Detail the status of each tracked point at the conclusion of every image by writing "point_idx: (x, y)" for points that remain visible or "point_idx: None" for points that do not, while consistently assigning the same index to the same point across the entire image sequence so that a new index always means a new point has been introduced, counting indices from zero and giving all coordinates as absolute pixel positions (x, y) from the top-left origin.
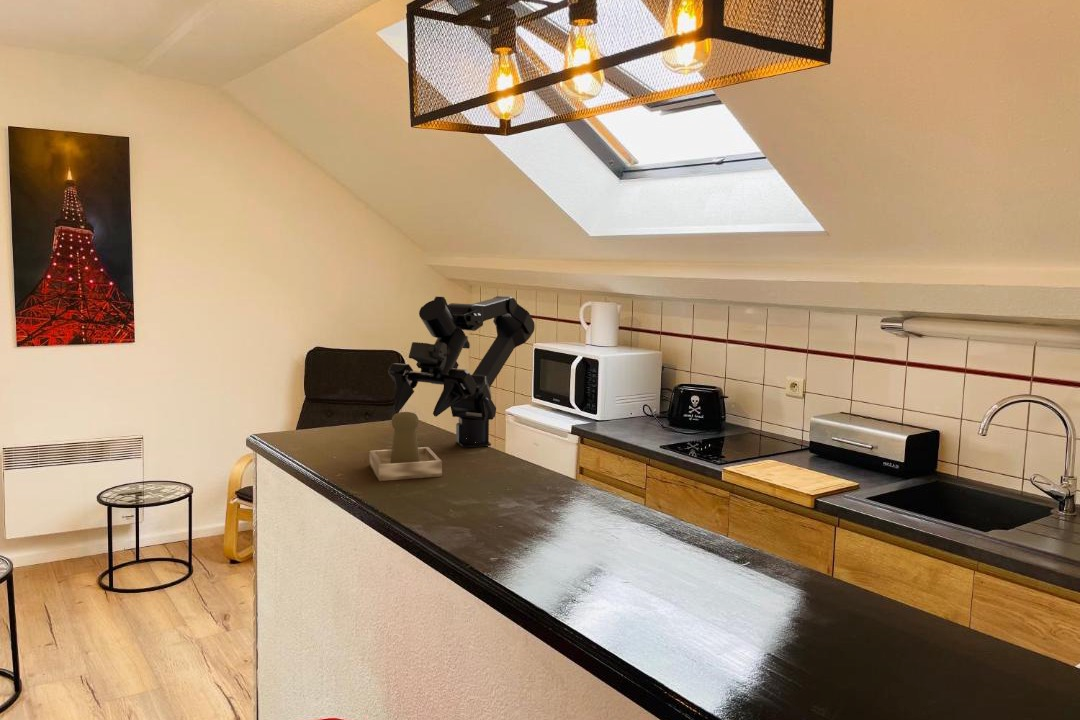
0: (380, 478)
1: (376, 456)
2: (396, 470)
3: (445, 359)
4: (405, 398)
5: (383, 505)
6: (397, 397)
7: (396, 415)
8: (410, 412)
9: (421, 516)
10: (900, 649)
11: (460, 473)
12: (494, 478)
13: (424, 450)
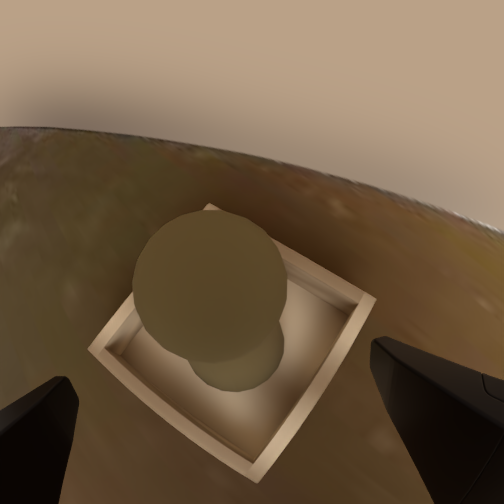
0: None
1: (298, 263)
2: None
3: None
4: (431, 461)
5: (109, 146)
6: (440, 367)
7: (219, 213)
8: (183, 298)
9: (42, 156)
10: None
11: (87, 411)
12: None
13: (255, 460)
